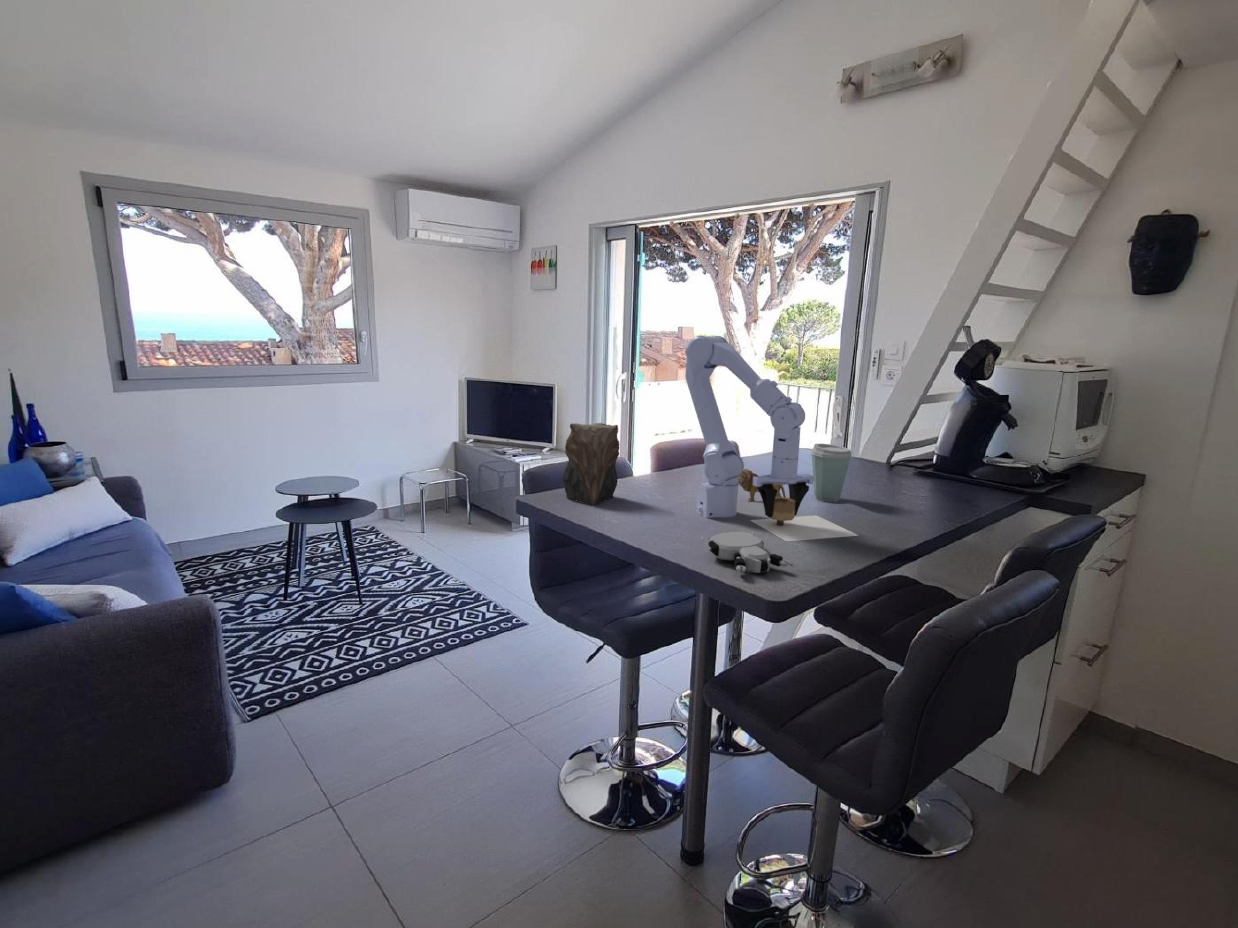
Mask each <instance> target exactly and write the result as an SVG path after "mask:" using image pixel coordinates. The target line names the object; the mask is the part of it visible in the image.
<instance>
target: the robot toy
mask: <svg viewBox="0 0 1238 928" xmlns="http://www.w3.org/2000/svg"><path fill="white" fill-rule="evenodd" d="M700 539H701V541H702V542H703V543H704V544H705V545H706V547H707V550H708V551H709V552H710V553H712V554H713V555H714V556H716V557H717V558H718V559H720V560H721V561H733V562H734V567H735V568H734V569H735V571H737V572H744V573H745V572H747V573H757V574H758V573H759V574H760V573H761V572H762V573H764V572H766V573H767V572H770V567H771V566H770V565H772V566H776V567H783V568H785V567H787V566H789V565H790V561H789V560H787V559H783V556H782V555H778V554H776V553H771V554H769V553H768V551H766V550H764V546H765V545H764V544H765V543H764V541H763V540H762V539H760V538H759V537H758V536H757V535H756V533H755V532H754V531H751V533H750V532H746V531H745V532H744V531H730V532H729V531H727V532H721V533H718V534H715V535H713V536H711V537H710V538H709V541H708V542H707V541H706V540H705V539H704V537H703V536H700Z"/></svg>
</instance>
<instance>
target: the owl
mask: <svg viewBox="0 0 1238 928" xmlns="http://www.w3.org/2000/svg"><path fill="white" fill-rule="evenodd" d="M569 428H570V433H569V435H568V437H567V438H566V442H565V446H564V449H565V451H564V454H565V455H566V457H567V463H566V465H565V466H564V471H563V473H562V476H561V480H562V485H563V488H564V492H565V494H566V496H565V498H566V497H567V498H569V499H568V500H571V499H574V500H577V501H576V502H578V501H581V502H580V503H582V502H583V504H584V503H586V504H585V505H589V504H590V506H593V505H596V506H597V504H598V505H600V504H602V503H604V502H606V501H605V500H607V501H608V500H610V499H609V498H611V499H613V498H614V493H615V492H616V491H615V490H616V489H617V487H618V474H617V470H616V464H617V460H618V457H619V456H620V451H619V450H620V440H619V438H618V433H619V425H618V424H614V425H611V424H607V423H602V422H598V423H597V422H596V423H593V424H588V423H587V424H581V423H570V424H569ZM612 497H613V498H612ZM567 498H566V499H567ZM574 500H573V501H574ZM603 501H604V502H603ZM601 502H602V503H601ZM599 503H600V504H599Z"/></svg>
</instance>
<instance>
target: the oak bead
mask: <svg viewBox="0 0 1238 928" xmlns="http://www.w3.org/2000/svg"><path fill="white" fill-rule="evenodd" d="M783 502H784V503H783ZM795 503H796V501H794V500H792V499H790V497H786V498H784V497H783V496H781V497H775V501H774V510H773V516H772V517H768V516H767V518H768V519H773V520H780V521H789V520H793V519H794V517H795V516H796V515H795Z"/></svg>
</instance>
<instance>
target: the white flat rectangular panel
mask: <svg viewBox="0 0 1238 928" xmlns="http://www.w3.org/2000/svg"><path fill="white" fill-rule="evenodd" d="M750 521H751V522H753V523H754V524H756V525H758V526H759V527H761V528H762V529H764V530H766V531H768V532H770V534H771V533H772V534H773V535H774V536H777V537H778V538H780V539H782V540H784V541H785V542H796V541H809V540H822V539H833V538H843V537H855V536H856V537H857V536H859V534H857V533H854V532H852V531H850V530H849V529H846V528H844V527H841V526H840V525H838V524H836V523H833V522H831V521H829V520H827V519H824V518H822V517H821V516H818V515H815V514H814V515H802V516H794V519H793V520H789V521H784V525H783V526H778V525H777V520H773V519H771V518H761V519H760V518H758V519H750Z"/></svg>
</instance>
